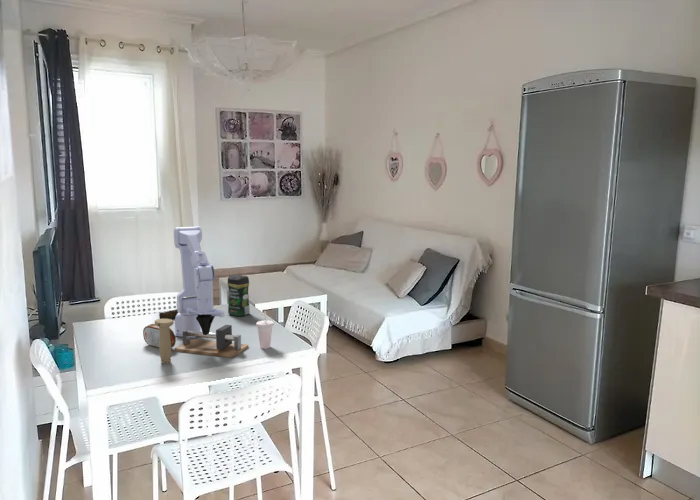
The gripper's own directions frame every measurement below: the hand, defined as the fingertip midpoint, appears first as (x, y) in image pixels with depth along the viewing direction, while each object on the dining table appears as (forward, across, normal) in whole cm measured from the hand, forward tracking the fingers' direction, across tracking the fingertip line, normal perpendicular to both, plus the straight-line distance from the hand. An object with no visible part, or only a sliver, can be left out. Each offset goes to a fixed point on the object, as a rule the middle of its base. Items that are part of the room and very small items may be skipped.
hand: (206, 334), depth 197 cm
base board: (+7, +1, +3) cm, 7 cm away
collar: (+5, +6, +3) cm, 8 cm away
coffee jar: (+7, -12, +49) cm, 51 cm away
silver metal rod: (+7, +1, +3) cm, 7 cm away
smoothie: (+7, +19, +11) cm, 22 cm away
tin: (+7, -19, -1) cm, 21 cm away
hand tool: (+7, -37, +38) cm, 53 cm away
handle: (+7, -7, -14) cm, 17 cm away
